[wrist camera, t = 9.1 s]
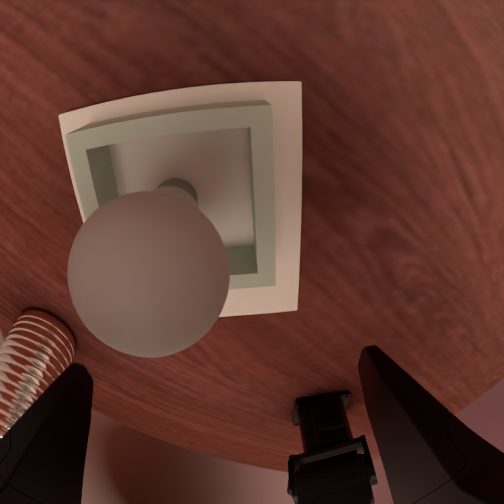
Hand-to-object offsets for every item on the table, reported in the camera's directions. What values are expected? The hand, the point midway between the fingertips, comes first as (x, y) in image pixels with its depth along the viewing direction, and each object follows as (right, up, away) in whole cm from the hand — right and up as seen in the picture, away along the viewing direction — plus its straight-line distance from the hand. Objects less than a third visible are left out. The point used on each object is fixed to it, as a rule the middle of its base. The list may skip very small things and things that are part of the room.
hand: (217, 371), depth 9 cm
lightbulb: (-3, +7, +9) cm, 12 cm away
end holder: (-3, +6, +11) cm, 13 cm away
